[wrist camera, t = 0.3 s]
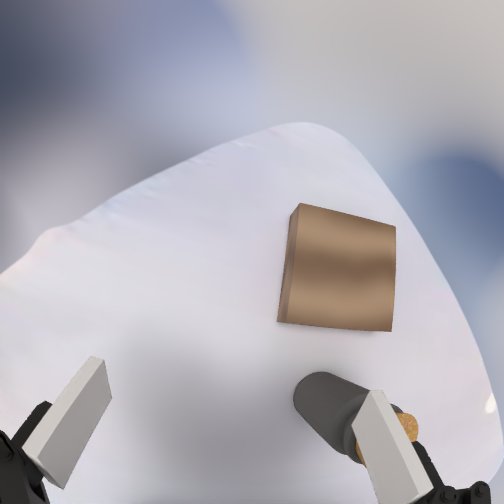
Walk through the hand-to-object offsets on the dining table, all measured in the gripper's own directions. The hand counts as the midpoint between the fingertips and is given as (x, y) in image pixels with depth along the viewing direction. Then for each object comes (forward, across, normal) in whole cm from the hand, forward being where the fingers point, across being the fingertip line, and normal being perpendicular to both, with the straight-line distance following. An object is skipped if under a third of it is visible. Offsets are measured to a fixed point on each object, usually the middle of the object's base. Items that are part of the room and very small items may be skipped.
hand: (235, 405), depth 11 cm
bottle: (+13, -10, +11) cm, 20 cm away
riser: (+20, -10, -1) cm, 22 cm away
